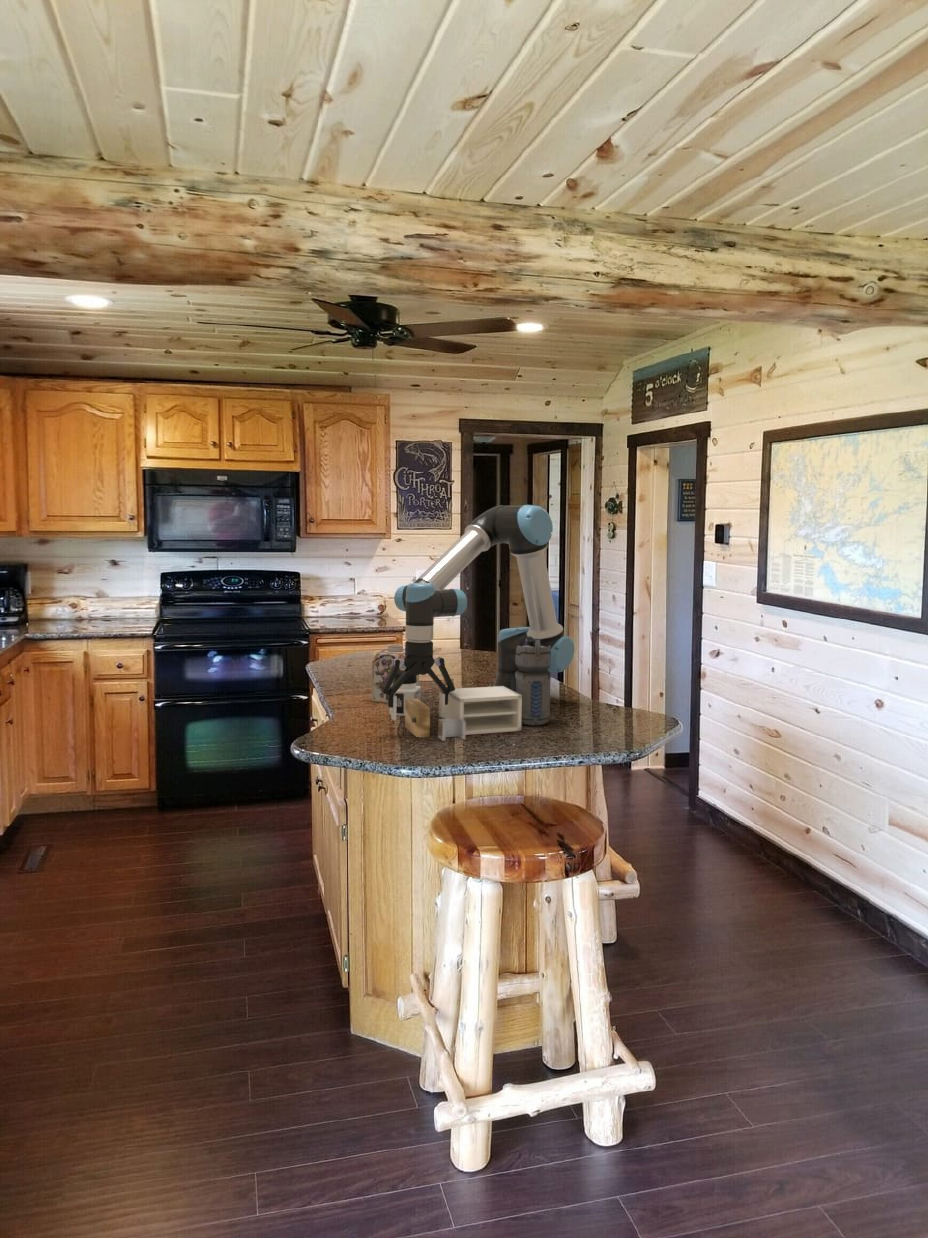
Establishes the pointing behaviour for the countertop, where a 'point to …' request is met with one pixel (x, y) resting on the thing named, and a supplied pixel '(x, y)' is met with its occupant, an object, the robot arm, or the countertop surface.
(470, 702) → the block
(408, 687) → the container
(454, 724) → the bracket
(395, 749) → the countertop surface
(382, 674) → the decorative jar
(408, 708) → the oak door
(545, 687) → the beverage bottle
